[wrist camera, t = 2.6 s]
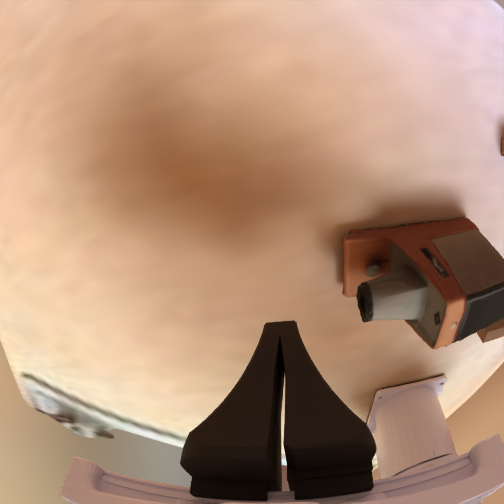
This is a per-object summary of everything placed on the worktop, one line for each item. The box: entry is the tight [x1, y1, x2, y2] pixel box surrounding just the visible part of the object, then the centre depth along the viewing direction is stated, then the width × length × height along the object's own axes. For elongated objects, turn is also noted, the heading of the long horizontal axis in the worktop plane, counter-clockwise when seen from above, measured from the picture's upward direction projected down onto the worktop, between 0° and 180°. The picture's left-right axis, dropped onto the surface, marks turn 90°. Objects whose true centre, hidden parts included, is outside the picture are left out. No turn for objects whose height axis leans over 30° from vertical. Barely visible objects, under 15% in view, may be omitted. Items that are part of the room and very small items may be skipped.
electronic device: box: [342, 218, 504, 349], centre depth 15 cm, size 4×10×8 cm, turn 100°
